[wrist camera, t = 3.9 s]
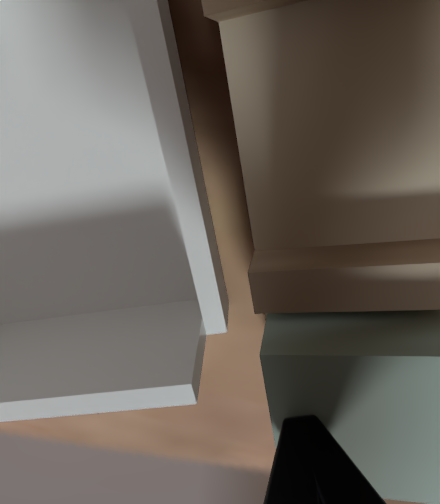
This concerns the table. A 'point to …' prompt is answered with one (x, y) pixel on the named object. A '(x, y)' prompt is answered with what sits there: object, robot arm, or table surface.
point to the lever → (345, 220)
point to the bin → (100, 213)
